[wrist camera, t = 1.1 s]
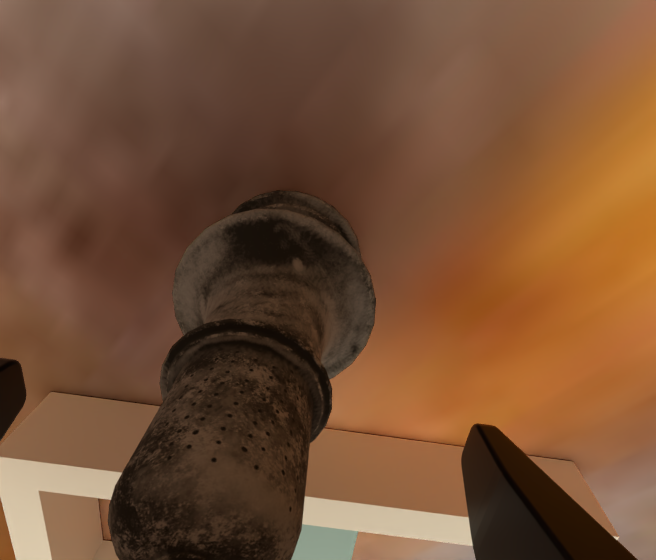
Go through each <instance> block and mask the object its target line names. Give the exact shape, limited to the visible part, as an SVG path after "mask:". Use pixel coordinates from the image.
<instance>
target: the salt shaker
mask: <svg viewBox="0 0 656 560" xmlns="http://www.w3.org/2000/svg"><path fill="white" fill-rule="evenodd" d="M172 296H173V303H174V310H175V317H176V319H177V321H178V324H179V326H180V328H181V330H182V333H183V335H184V336H183V337H182V338H181V339H179V340H178V341H177V342H176V343H175V344H174V345H173V346H172V348H171V349H170V351H169V353H168V355H167V357H166V359H165V361H164V363H163V364H162V370H161V377H160V388H161V394H162V399H163V402H162V404H161V406H160V408H159V409H158V411H157V413H156V415H155V416H154V418H153V420H152V422H151V423H150V425H149V427H148V429H147V430H146V432H145V434H144V436H143V437H142V439H141V441H140V442H139V444H138V446H137V448H136V449H135V451H134V453H133V455H132V456H131V458H130V460H129V462H128V463H127V465H126V467H125V469H124V470H123V472H122V474H121V476H120V478H119V479H118V481H117V483H116V485H115V488H114V491H113V494H112V498H111V501H110V504H109V514H108V525H109V529H110V534H111V539H112V543H113V546H114V550H115V553H116V556H117V557H118V559H119V560H291V559H292V556H293V554H294V551H295V548H296V545H297V542H298V539H299V536H300V533H301V530H302V520H303V510H304V500H305V489H306V479H307V469H308V458H309V448H310V443H311V442H313V441H314V440H315V439H316V438H317V437H318V435H319V434H320V433H321V431H322V430H323V429H324V428H325V426H326V424H327V421H328V418H329V415H330V413H331V410H332V387H331V384H330V380H329V379H331V378H333V377H335V376H336V375H338V374H339V373H340V372H341V371H343V370H344V369H345V368H347V367H348V366H349V365H351V364H352V363H353V362H354V360H355V359H356V358H357V356H358V355H359V354H360V352H361V351H362V350H363V349H364V347H365V346H366V344H367V341H368V339H369V336H370V334H371V331H372V328H373V326H374V320H375V306H376V298H375V294H374V289H373V285H372V280H371V276H370V273H369V272H368V270H367V268H366V266H365V264H364V263H363V261H362V259H361V254H360V249H359V245H358V241H357V238H356V236H355V234H354V232H353V230H352V228H351V227H350V225H349V223H348V221H347V220H346V219H345V218H344V217H343V216H342V215H341V214H340V213H339V212H338V211H337V210H336V209H335V208H334V207H332V206H331V205H329V204H327V203H326V202H324V201H322V200H321V199H319V198H317V197H315V196H311V195H308V194H304V193H301V192H298V191H274V192H270V193H266V194H262V195H258V196H256V197H254V198H252V199H250V200H249V201H247V202H245V203H243V204H242V205H240V206H239V207H238V208H237V209H236V210H235V211H234V212H233V213H232V214H231V215H229V216H227V217H225V218H223V219H222V220H220V221H218V222H216V223H214V224H213V225H211V226H209V227H207V228H206V229H205V230H204V231H203V232H202V233H201V234H200V235H199V236H198V237H197V238H196V239H195V240H194V241H193V242H192V243H191V244H190V245H189V246H188V247H187V248H186V250H185V252H184V255H183V257H182V259H181V261H180V263H179V265H178V267H177V269H176V272H175V279H174V285H173V291H172Z"/></svg>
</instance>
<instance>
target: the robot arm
mask: <svg viewBox="0 0 656 560" xmlns="http://www.w3.org/2000/svg"><path fill="white" fill-rule="evenodd" d="M25 400H26V388H25V383H24V378H23V372H22V367H21V364H20V363H19V362H18V361H16V360H13V359H6V358H0V441H1V439H2V438H3V436H4V435H5V433H6V432H7V430H8V429H9V427H10V425H11V424H12V422H13V421H14V419H15V418H16V416H17V415H18V413H19V412H20V410H21V409H22V407H23V405H24V403H25ZM461 467H462V474H463V482H464V489H465V496H466V503H467V511H468V518H469V525H470V532H471V538H472V544H473V549H474V553H475V558H476V560H638V559H636V558H635V557H634V556H633V555H632V554H631V553H630V552H629V551H628V550H627V549H626V548H625V547H624V546H623V545H622V544H620V543H619V542H618V541H617V540H616V539H615V538H614V537H613V536H612V535H611V534H610V533H609V532H608V531H607V530H606V529H605V528H603V527H602V526H601V525H600V524H599V523H598V522H597V521H596V520H595V519H594V518H593V517H592V516H591V515H590V514H589V513H587V512H586V511H585V510H584V509H583V508H582V507H581V506H580V505H579V504H578V503H577V502H576V501H575V500H574V499H573V498H571V497H570V496H569V495H568V494H567V493H566V492H565V491H564V490H563V489H562V488H561V487H560V486H559V485H558V484H557V483H556V482H554V481H553V480H552V479H551V478H550V477H549V476H548V475H547V474H546V473H545V472H544V471H543V470H542V469H541V468H540V467H538V466H537V465H536V464H535V463H534V462H533V461H532V460H531V459H530V458H529V457H528V456H527V455H526V454H525V453H524V452H523V451H521V450H520V449H519V448H518V447H517V446H516V445H515V444H514V443H513V442H512V441H511V440H510V439H509V438H508V437H507V436H505V435H504V434H503V433H502V432H501V431H500V430H499V429H498V428H497V427H495V426H492V425H486V424H478V423H477V424H474V425H473V426H472V428H471V430H470V433H469V435H468V438H467V441H466V444H465V446H464V449H463V452H462V456H461Z"/></svg>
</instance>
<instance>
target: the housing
mask: <svg viewBox="0 0 656 560" xmlns="http://www.w3.org/2000/svg"><path fill="white" fill-rule="evenodd" d="M159 408H160V406H154V405H147V404H139V403H132V402H124V401H117V400H109V399H102V398H94V397H87V396H79V395H72V394H64V393H57V392H50V393H49V394H48V395H47V396H46V398H45V399H44V400H43V401H42V402H41V403H40V404H39V405H38V406H37V407H36V408H35V409H34V410H33V411H32V412H31V413H30V414H29V415H28V416H27V417H26V418H25V420H24V421H23V422H22V423H21V424H20V425H19V426H18V427H17V428H16V429H15V430H14V431H13V432H12V433H11V434H10V435H9V436H8V437H7V438H6V439H5V440H4V441H3V443H2V444H1V445H0V497H1V501H2V505H3V509H4V513H5V517H6V521H7V525H8V529H9V533H10V537H11V541H12V545H13V549H14V553H15V557H16V560H119V559H118V557H117V556H116V553H115V550H114V546H113V543H112V541H106V540H103V536H102V528H101V519H100V511H99V502H98V498H101V499H109V500H111V498H112V494H113V491H114V488H115V485H116V483H117V481H118V479H119V478H120V476H121V474H122V472H123V470H124V469H125V467H126V465H127V463H128V462H129V460H130V458H131V456H132V455H133V453H134V451H135V449H136V448H137V446H138V444H139V442H140V441H141V439H142V437H143V436H144V434H145V432H146V430H147V429H148V427H149V425H150V423H151V422H152V420H153V418H154V416H155V415H156V413H157V411H158V409H159ZM463 449H464V447H461V446H453V445H446V444H438V443H431V442H423V441H416V440H408V439H401V438H393V437H386V436H378V435H371V434H363V433H356V432H348V431H341V430H334V429H326V428H324V429H323V430H322V431H321V433H320V434H319V435H318V437H317V438H316V439H315V440H314V441H313V442H311V443H310V448H309V458H308V469H307V479H306V489H305V500H304V510H303V520H302V530H301V533H300V536H299V539H298V542H297V545H296V548H295V551H294V554H293V556H292V559H291V560H351V558H352V554H353V550H354V546H355V542H356V538H357V534H358V531H359V532H367V533H375V534H383V535H391V536H399V537H406V538H414V539H422V540H430V541H438V542H446V543H453V544H461V545H469V546H473V544H472V538H471V532H470V525H469V518H468V511H467V503H466V496H465V489H464V482H463V474H462V467H461V456H462V452H463ZM527 456H528V455H527ZM528 457H529V458H530V459H531V460H532V461H533V462H534V463H535V464H536V465H537V466H538V467H540V468H541V469H542V470H543V471H544V472H545V473H546V474H547V475H548V476H549V477H550V478H551V479H552V480H553V481H554V482H556V483H557V484H558V485H559V486H560V487H561V488H562V489H563V490H564V491H565V492H566V493H567V494H568V495H569V496H570V497H571V498H573V499H574V500H575V501H576V502H577V503H578V504H579V505H580V506H581V507H582V508H583V509H584V510H585V511H586V512H587V513H589V514H590V515H591V516H592V517H593V518H594V519H595V520H596V521H597V522H598V523H599V524H600V525H601V526H602V527H603V528H605V529H606V530H607V531H608V532H609V533H610V534H611V535H612V536H613V537H614V538H615V539H616V540H618V538H619V536H618V534H617V533H616V531H615V529H614V528H613V526H612V524H611V523H610V521H609V519H608V518H607V516H606V514H605V513H604V511H603V510H602V508H601V506H600V505H599V503H598V501H597V500H596V498H595V496H594V495H593V493H592V491H591V490H590V488H589V486H588V485H587V483H586V482H585V480H584V478H583V477H582V475H581V473H580V472H579V470H578V468H577V467H576V465H575V463H574V462H573V461H565V460H558V459H550V458H543V457H535V456H528Z"/></svg>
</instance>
